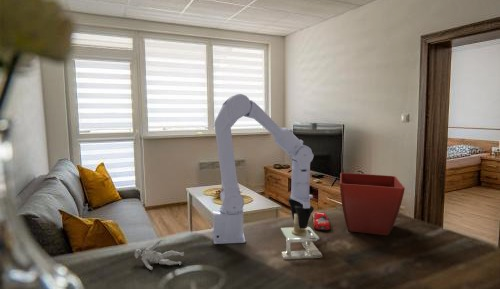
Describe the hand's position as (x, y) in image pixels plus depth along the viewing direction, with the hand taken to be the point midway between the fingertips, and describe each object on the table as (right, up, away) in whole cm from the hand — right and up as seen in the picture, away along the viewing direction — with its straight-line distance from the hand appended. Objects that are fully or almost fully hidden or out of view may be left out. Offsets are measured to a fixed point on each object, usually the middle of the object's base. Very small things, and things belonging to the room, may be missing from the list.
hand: (299, 223), depth 102 cm
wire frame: (-2, -5, -12) cm, 13 cm away
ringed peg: (0, -3, 0) cm, 3 cm away
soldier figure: (-39, -5, -20) cm, 44 cm away
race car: (+9, -3, +9) cm, 13 cm away
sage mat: (0, -3, 0) cm, 3 cm away
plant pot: (+24, -3, +7) cm, 26 cm away
